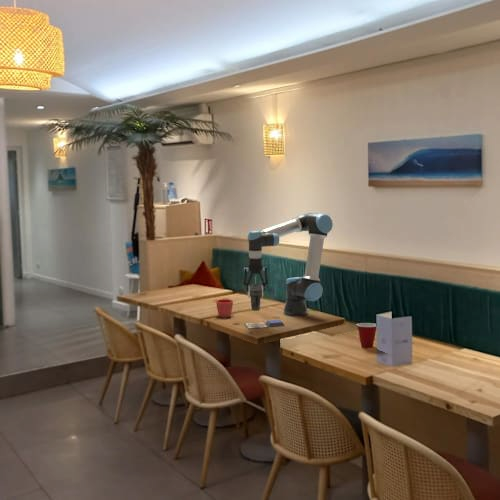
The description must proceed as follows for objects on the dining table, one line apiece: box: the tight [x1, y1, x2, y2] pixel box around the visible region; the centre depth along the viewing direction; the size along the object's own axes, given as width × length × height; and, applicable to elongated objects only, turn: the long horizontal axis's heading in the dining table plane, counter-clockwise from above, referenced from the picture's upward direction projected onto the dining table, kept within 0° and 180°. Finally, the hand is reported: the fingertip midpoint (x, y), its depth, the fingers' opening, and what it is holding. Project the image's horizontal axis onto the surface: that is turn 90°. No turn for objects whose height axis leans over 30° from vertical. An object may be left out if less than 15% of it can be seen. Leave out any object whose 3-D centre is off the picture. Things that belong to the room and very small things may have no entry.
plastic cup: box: [356, 322, 377, 349], centre depth 322 cm, size 11×11×12 cm
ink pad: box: [265, 319, 285, 328], centre depth 373 cm, size 9×9×2 cm
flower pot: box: [215, 299, 234, 318], centre depth 398 cm, size 11×11×10 cm
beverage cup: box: [249, 276, 262, 312], centre depth 368 cm, size 7×7×20 cm
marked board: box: [244, 322, 270, 330], centre depth 370 cm, size 12×12×1 cm
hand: (255, 296), depth 368 cm, fingers closed on beverage cup, 7 cm apart
